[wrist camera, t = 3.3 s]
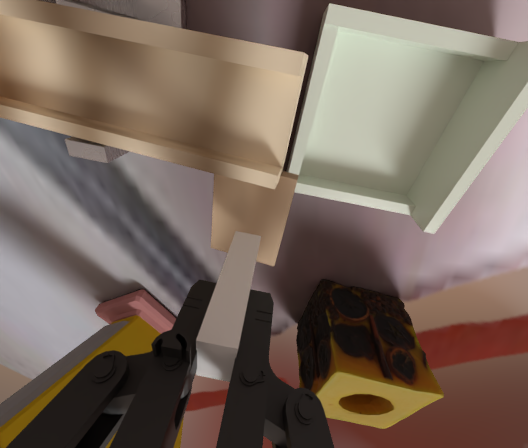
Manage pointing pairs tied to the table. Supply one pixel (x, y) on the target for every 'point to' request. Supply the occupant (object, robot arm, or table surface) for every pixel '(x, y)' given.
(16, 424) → the pink yellow-faced device
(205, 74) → the beige piece
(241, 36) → the table surface
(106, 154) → the fulcrum
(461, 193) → the tray
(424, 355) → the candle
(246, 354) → the robot arm
